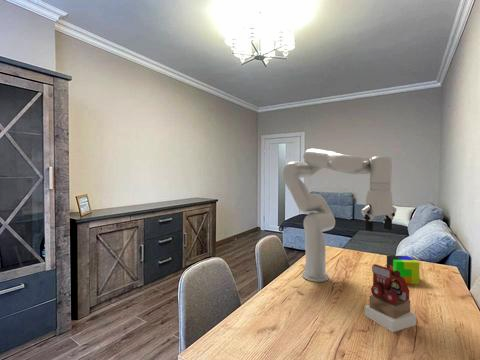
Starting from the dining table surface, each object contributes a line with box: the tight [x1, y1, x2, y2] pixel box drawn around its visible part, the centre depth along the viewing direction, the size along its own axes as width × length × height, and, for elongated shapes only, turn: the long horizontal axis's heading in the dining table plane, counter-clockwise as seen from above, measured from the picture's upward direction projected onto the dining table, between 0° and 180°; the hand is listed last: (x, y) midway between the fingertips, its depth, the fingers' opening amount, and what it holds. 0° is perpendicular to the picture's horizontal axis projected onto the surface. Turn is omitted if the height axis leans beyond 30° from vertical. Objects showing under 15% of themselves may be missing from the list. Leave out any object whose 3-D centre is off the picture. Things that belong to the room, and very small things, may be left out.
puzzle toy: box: [386, 255, 420, 285], centre depth 127 cm, size 10×10×10 cm
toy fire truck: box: [370, 264, 410, 304], centre depth 91 cm, size 7×12×10 cm, turn 28°
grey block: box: [364, 304, 417, 333], centre depth 91 cm, size 11×11×4 cm
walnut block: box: [368, 293, 411, 319], centre depth 92 cm, size 9×9×4 cm
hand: (378, 230), depth 105 cm, fingers open, 9 cm apart
